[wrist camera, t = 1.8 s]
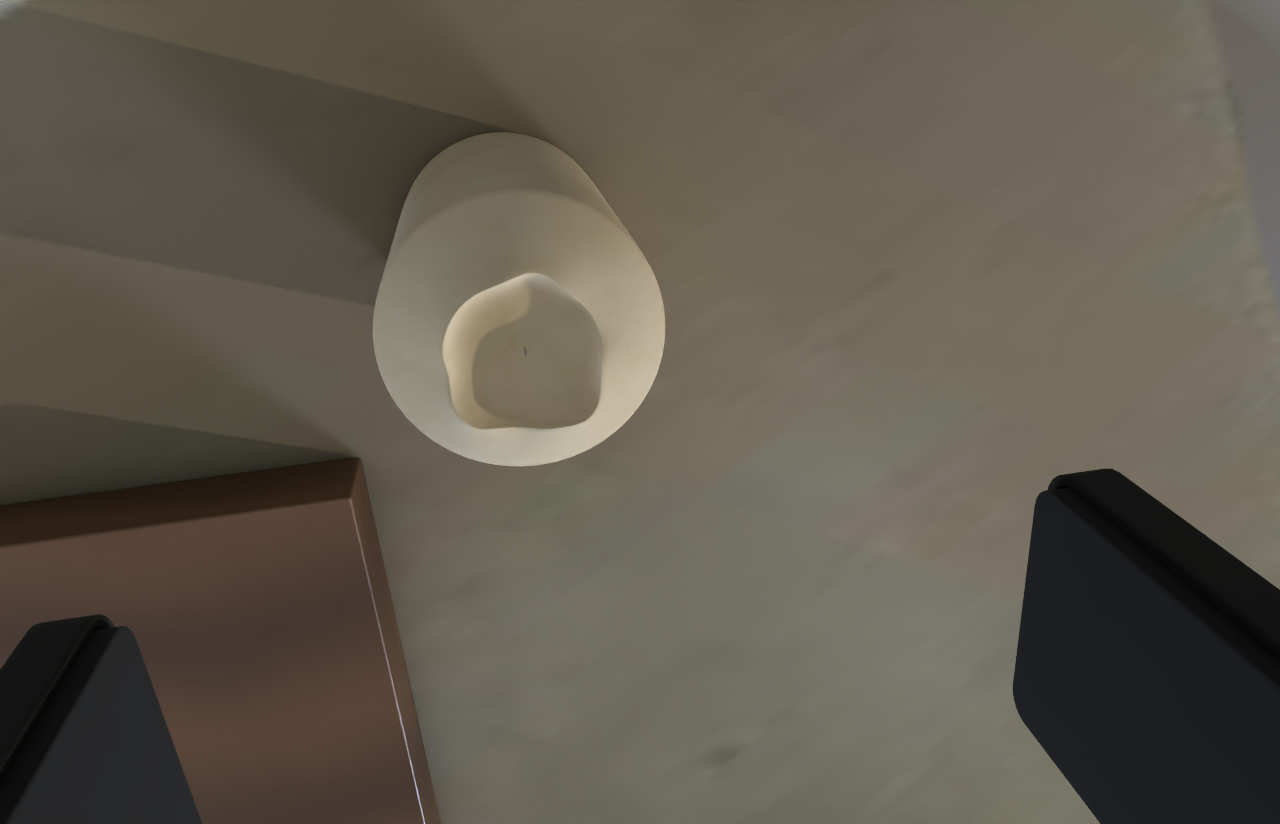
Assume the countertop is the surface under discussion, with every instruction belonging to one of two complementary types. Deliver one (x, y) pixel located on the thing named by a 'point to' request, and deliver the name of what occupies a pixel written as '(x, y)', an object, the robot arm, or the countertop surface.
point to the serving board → (243, 634)
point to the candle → (515, 306)
